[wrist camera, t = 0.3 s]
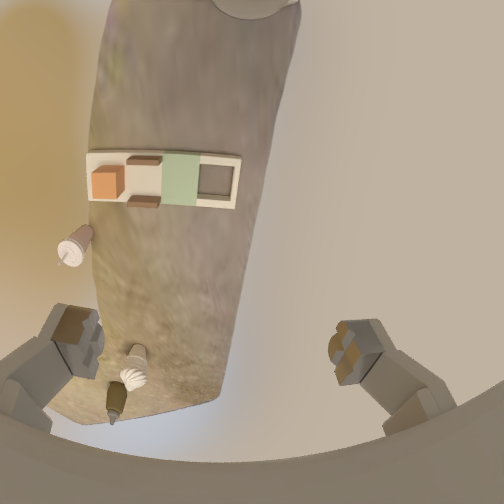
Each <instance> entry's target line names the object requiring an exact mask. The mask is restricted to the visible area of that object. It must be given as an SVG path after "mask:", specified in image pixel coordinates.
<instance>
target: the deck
mask: <svg viewBox="0 0 504 504" xmlns="http://www.w3.org/2000/svg"><path fill="white" fill-rule="evenodd" d="M200 164H212V165H224V166H234V168H233V176H232V183H231V191H230V196H223V195H211V194H198V185H199V174H200ZM101 165H125V190H124V192H123V193H122V194H121V195H120V196H119V197H118V198H117V199H93V195H92V180H91V172H93V171H94V170H96V169H97V168H98V167H100V166H101ZM240 166H241V156H235V155H225V154H214V153H201V152H186V151H167V150H92V151H90V152H88V153H86V168H87V186H88V199H89V201H115V202H127V207H143V208H158V206H159V204H175V205H190V206H204V207H217V208H229V209H235V202H236V195H237V188H238V180H239V173H240Z"/></svg>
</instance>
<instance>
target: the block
mask: <svg viewBox="0 0 504 504" xmlns="http://www.w3.org/2000/svg"><path fill="white" fill-rule="evenodd" d="M91 180H92V195H93V199H117V198H118V197H119V196H120V195H121V194H122V193H123V192H124V190H125V165H101V166H100V167H98V168H97V169H96V170H94V171H93V172H91Z"/></svg>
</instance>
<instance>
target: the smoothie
mask: <svg viewBox="0 0 504 504" xmlns="http://www.w3.org/2000/svg"><path fill="white" fill-rule="evenodd" d="M93 234H94V232H93V229H92V228H91V227H90V226H89V225H83V226H81V227H80V228H79V229H78V230H76V231H75V232H74V233H73V234H71V235H70V236H69V237H68V238H66V239H63V240H62V241H61V243H60V244H59V246H58V254H59V256H60V258H61V260H60V262H59V263H58V265H61V263H62V262H64V263H65V264H67V265H69V266H72V267H75V266H78V265H80V264H81V263H82V261H83V260H84V254H85V252H86V250H87V247H88V245H89V243H90V241H91V239H92V237H93Z"/></svg>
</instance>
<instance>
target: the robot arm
mask: <svg viewBox="0 0 504 504" xmlns="http://www.w3.org/2000/svg"><path fill="white" fill-rule="evenodd" d="M212 1H213V2H214V4H215V5H216V6H217V7H218V8H219V9H220V10H221V11H223V12H224V13H226V14H228V15H230V16H232V17H236V18H240V19H248V20H253V19H261V18H265V17H268V16H271V15H273V14H275V13H276V12H278V11H279V10H280V9H282V8H283V7H285V6H288V5H292V4H295V3H297V2H298V1H299V0H212ZM98 320H99V315H98V312H97V310H95V309H90V308H83V307H78V306H73V305H66V304H61V303H57V304H56V305H55V306H54V307H53V309H52V311H51V313H50V314H49V316H48V318H47V320H46V322H45V324H44V326H43V328H42V329H41V331H40V334H39V335H38V337H33V338H32V339H30V340H29V341H27V342H26V343H24V344H23V345H21V347H19V348H17V349H16V350H14V351H13V352H12V353H10V354H9V355H7V356H6V357H5V358H3V359H2V360H1V361H0V504H504V380H503V381H501V382H500V383H498V384H496V385H495V386H493V387H492V388H490V389H488V390H487V391H485V392H483V393H482V394H480V395H478V396H477V397H475V398H473V399H471V400H469V401H468V402H466V403H464V404H462V405H460V406H458V407H457V405H456V403H455V401H454V399H453V397H452V395H451V393H450V391H449V390H448V388H447V386H446V384H445V382H444V381H443V380H442V379H440V378H439V377H438V376H436V375H435V374H433V373H432V372H431V371H429V370H428V369H426V368H425V367H423V366H422V365H421V364H419V363H418V362H416V361H415V360H414V359H412V358H411V357H409V356H408V355H406V354H405V353H404V352H402V351H400V350H397V349H396V348H395V346H394V344H393V342H392V341H391V339H390V337H389V336H388V334H387V332H386V330H385V329H384V327H383V325H382V323H381V322H380V320H378V319H365V320H364V319H363V320H347V321H341V322H339V323H338V325H337V327H336V330H337V333H336V334H335V335H334V336H332V337H331V339H330V342H329V346H328V353H329V357H330V361H331V362H332V363H333V364H334V365H336V369H335V371H334V372H335V374H336V377H337V380H338V383H339V385H340V386H344V385H352V384H359V383H360V385H361V386H362V387H363V388H364V389H365V390H366V391H367V392H368V393H369V394H370V395H371V396H372V397H373V398H374V399H375V400H376V401H377V402H378V403H379V404H380V405H381V406H382V407H383V408H384V409H385V410H386V411H387V412H388V413H389V414H390V415H391V417H390V418H389V419H388V420H386V421H385V422H384V423H383V425H382V427H383V429H384V432H385V435H386V437H382V438H379V439H376V440H373V441H370V442H366V443H362V444H358V445H355V446H351V447H347V448H342V449H338V450H334V451H329V452H324V453H319V454H313V455H307V456H301V457H294V458H286V459H278V460H267V461H255V462H234V463H233V462H231V463H208V462H205V463H204V462H184V461H172V460H161V459H154V458H146V457H139V456H133V455H127V454H122V453H117V452H112V451H107V450H103V449H99V448H94V447H91V446H87V445H83V444H80V443H76V442H73V441H70V440H67V439H63V438H60V437H57V436H54V435H52V434H50V431H51V427H52V420H51V418H50V417H49V416H48V415H47V414H46V413H45V412H44V411H43V410H42V409H43V408H44V407H45V406H46V405H47V404H48V403H49V402H50V401H51V399H52V398H53V397H54V396H55V395H56V394H57V393H58V392H59V391H60V390H61V389H62V388H63V387H64V386H65V385H66V384H67V383H68V382H69V381H70V380H71V379H72V378H73V376H77V377H82V378H88V379H93V380H94V379H95V376H96V372H97V369H98V365H99V363H98V361H97V357H98V356H100V355H101V354H102V352H103V348H104V340H105V338H104V331H103V328H102V326H101V325H100V324H98Z"/></svg>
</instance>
